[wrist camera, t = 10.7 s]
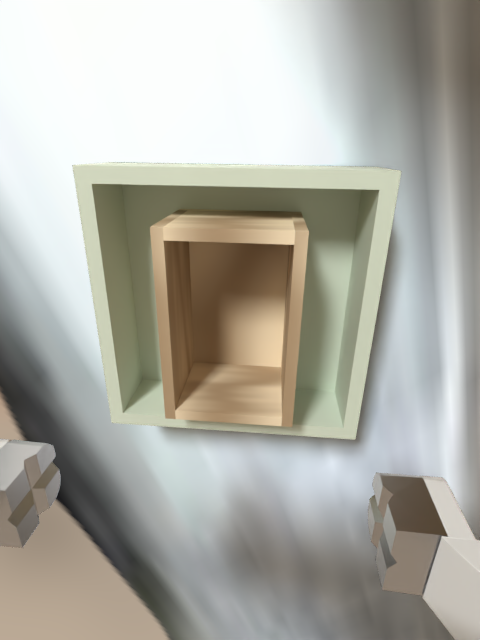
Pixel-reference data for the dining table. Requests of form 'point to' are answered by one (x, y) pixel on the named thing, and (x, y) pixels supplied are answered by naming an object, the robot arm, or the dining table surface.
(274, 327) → the pine crate
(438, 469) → the dining table surface
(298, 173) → the sage crate
